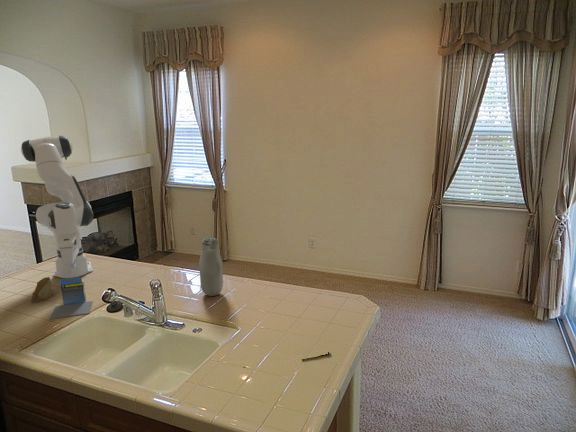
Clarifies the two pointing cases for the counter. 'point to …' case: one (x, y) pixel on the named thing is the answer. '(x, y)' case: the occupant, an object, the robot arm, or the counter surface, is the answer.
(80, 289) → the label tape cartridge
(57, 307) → the mat
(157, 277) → the counter surface
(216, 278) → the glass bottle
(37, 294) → the rock
